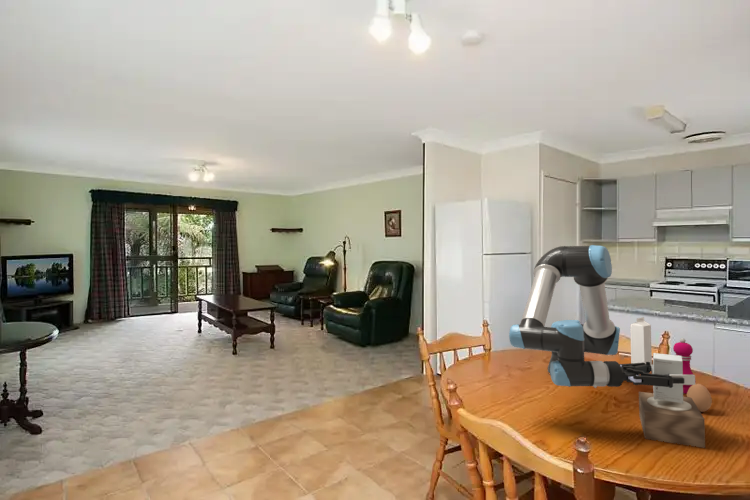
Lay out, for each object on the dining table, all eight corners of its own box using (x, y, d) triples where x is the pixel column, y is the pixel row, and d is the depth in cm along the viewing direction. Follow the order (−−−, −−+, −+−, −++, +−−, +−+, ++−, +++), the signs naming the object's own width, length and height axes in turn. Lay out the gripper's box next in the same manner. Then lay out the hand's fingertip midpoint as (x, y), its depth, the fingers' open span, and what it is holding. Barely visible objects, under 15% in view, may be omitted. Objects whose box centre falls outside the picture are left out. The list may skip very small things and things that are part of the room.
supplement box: (653, 399, 127) (652, 357, 127) (653, 392, 133) (652, 352, 133) (683, 404, 123) (682, 360, 123) (682, 396, 129) (681, 355, 129)
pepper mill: (700, 394, 157) (698, 340, 157) (678, 393, 158) (676, 340, 158) (689, 388, 164) (688, 336, 164) (668, 387, 165) (667, 336, 165)
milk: (652, 366, 193) (651, 318, 193) (644, 368, 190) (643, 319, 190) (638, 363, 199) (637, 316, 198) (630, 365, 196) (630, 317, 195)
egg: (687, 406, 147) (687, 379, 147) (712, 410, 142) (711, 383, 142) (686, 412, 142) (685, 384, 141) (711, 416, 137) (711, 388, 137)
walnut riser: (645, 438, 124) (644, 409, 124) (639, 416, 140) (638, 390, 139) (705, 447, 117) (704, 417, 117) (691, 423, 133) (691, 396, 133)
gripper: (591, 375, 142) (664, 375, 139) (621, 398, 120) (708, 400, 117) (590, 352, 141) (663, 352, 139) (620, 372, 120) (707, 372, 117)
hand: (683, 374), depth 128 cm, fingers closed on supplement box, 9 cm apart
